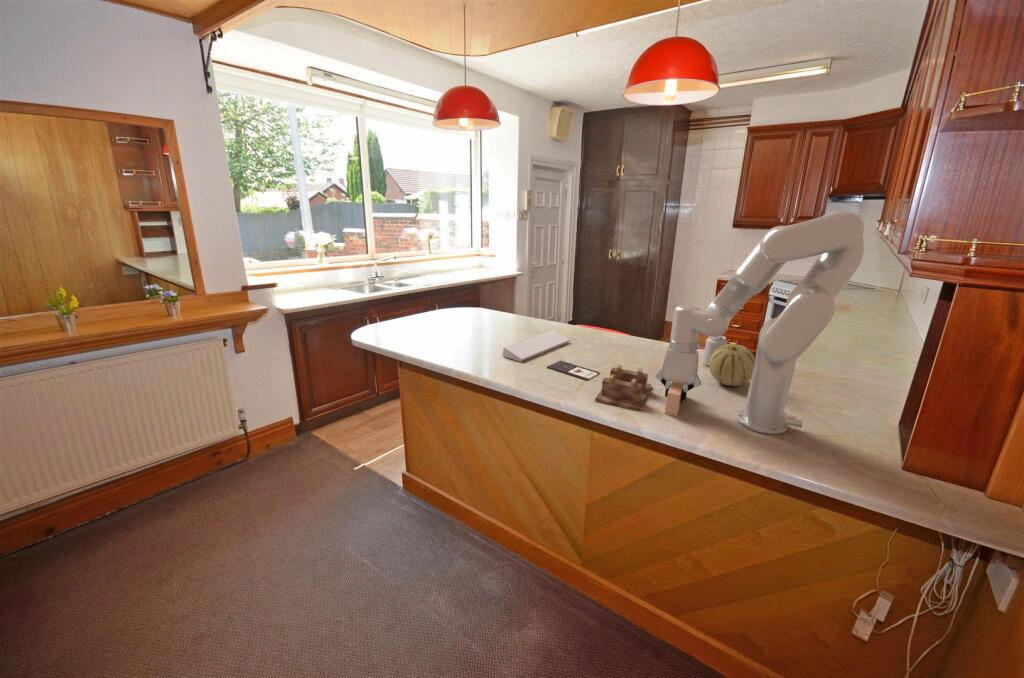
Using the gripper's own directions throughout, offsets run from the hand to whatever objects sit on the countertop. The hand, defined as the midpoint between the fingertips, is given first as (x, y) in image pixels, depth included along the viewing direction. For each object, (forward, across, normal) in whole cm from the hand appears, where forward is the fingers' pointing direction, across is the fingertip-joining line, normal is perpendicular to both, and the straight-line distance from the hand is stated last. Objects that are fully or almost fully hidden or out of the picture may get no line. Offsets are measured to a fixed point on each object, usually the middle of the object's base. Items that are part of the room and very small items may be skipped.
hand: (674, 399), depth 132 cm
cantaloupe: (+2, -15, -26) cm, 30 cm away
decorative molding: (+3, +60, -27) cm, 66 cm away
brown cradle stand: (+2, +16, 0) cm, 16 cm away
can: (+2, -9, -43) cm, 44 cm away
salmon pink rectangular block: (+2, 0, 0) cm, 2 cm away
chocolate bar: (+2, +38, -11) cm, 40 cm away
